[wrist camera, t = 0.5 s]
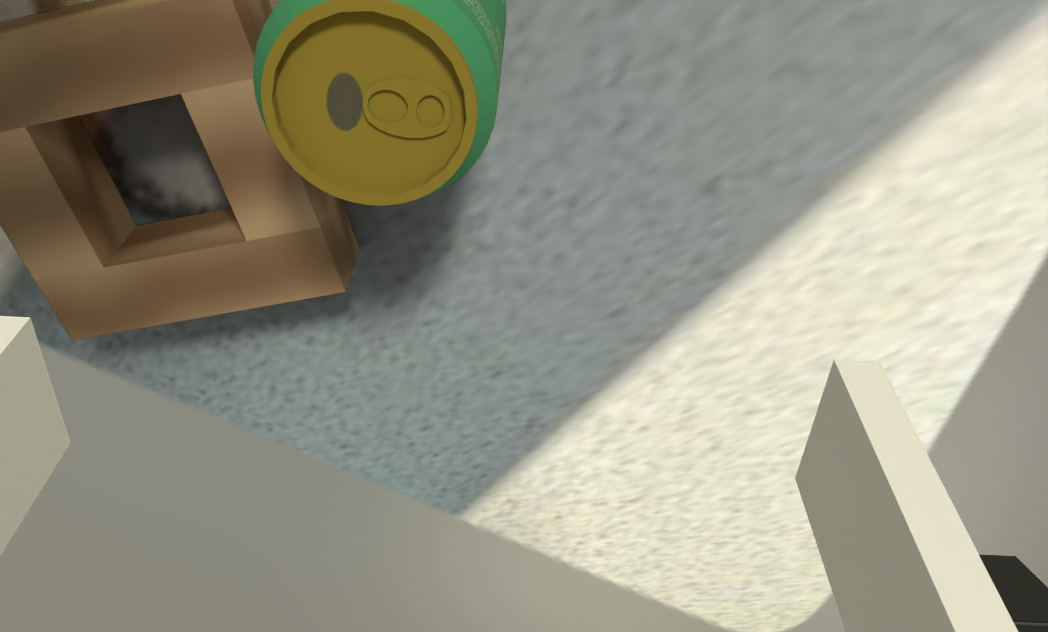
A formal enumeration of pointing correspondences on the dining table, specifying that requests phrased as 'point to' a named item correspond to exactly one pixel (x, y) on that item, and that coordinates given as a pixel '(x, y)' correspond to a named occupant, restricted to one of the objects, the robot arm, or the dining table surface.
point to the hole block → (93, 200)
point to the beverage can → (380, 92)
